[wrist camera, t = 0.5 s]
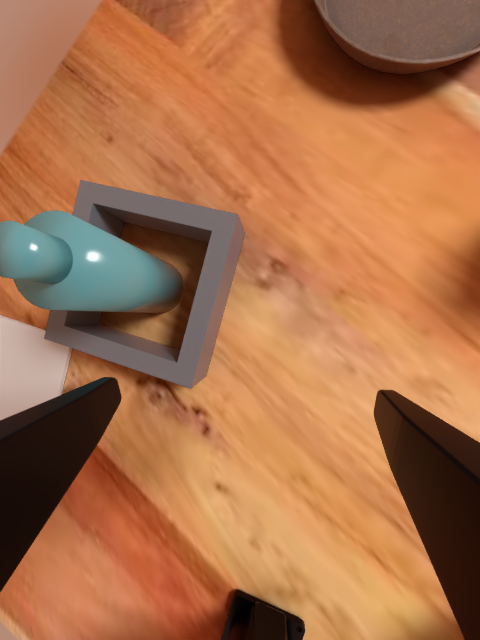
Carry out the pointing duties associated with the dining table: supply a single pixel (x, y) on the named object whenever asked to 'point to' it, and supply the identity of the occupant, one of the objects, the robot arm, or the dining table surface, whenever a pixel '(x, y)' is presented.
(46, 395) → the white mat
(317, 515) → the dining table surface
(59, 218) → the teal bottle
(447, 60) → the plant saucer
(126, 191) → the frame
